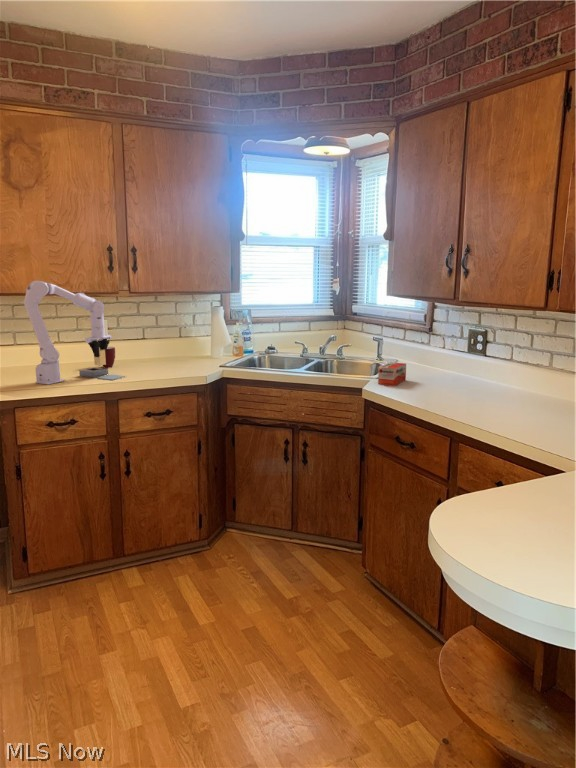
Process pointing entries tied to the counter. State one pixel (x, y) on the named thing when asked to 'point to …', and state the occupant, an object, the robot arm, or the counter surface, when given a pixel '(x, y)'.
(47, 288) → the robot arm
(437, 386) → the counter surface
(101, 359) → the beige block
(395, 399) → the counter surface
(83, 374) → the block
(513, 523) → the counter surface
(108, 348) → the mug
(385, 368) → the medicine box
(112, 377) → the slate mat
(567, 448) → the counter surface
